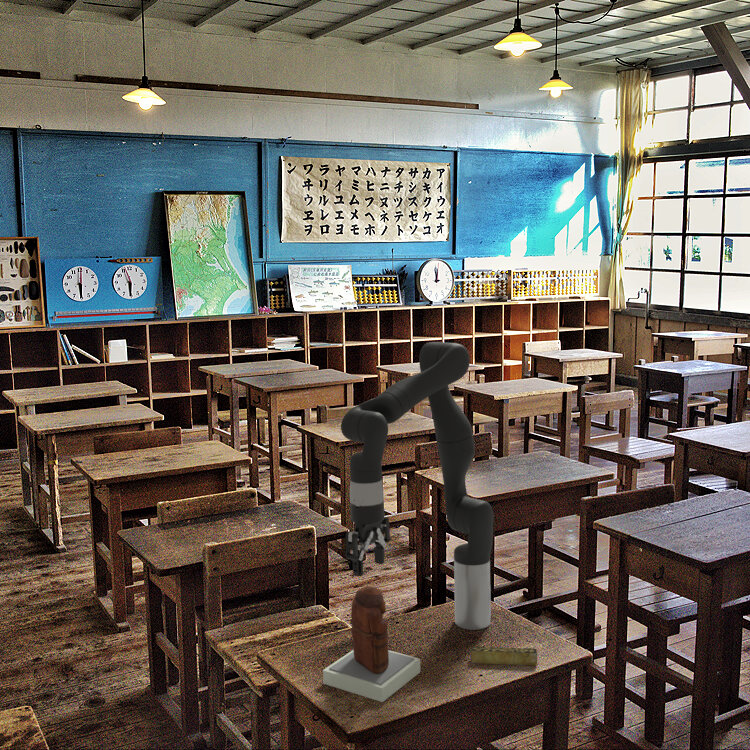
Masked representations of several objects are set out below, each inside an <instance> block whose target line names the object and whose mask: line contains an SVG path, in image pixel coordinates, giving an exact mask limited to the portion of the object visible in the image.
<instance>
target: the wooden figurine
mask: <svg viewBox="0 0 750 750" xmlns="http://www.w3.org/2000/svg"><path fill="white" fill-rule="evenodd" d="M350 610H351V611H350V613H351V614H350V615H351V616H350V617H351V635H352V636H351V639H352V650H354V657H355V660H356V661H357V662H359V663H360V664H362V665H363V666H364V667H365V668H367V669H368V670H369V671H371V672H372V673H376V674H378V673H381V672H383V671H384V670H386V669H387V667H388V664H389V654H388V650H389V634H388V633H389V632H388V620H386V619H385V618H384V616H383V615H385V614H386V611H387V609H386V601H385V599H384V594H383V593H382V591H381V590H380V589H379V588H377V587H375V586H370V585H368V586H365V587H361V588H360V589H358V590H357V591H356V593H355V595H354V598H353V600H352V603H351V609H350Z"/></svg>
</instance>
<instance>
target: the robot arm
mask: <svg viewBox="0 0 750 750" xmlns="http://www.w3.org/2000/svg"><path fill="white" fill-rule="evenodd" d="M470 358H471V357H470V353H469V350H468V349H467V348H466V347H465V346H464V345H462V344H460V343H456V342H442V341H432V342H431V341H430V342H427V343H424V345H423V346H422V347H421V349H420V352H419V358H418V359H419V362H418V363H419V370H420V372H419V373H416V374H413V375H410V376H408V377H406V378H403V379H400V380H398V381H396V382H395V383H393V384H392V385H390V386H389V387H387V388H386V389H385V390H384V391H382V392H381V393H380V394H378V396H376V397H374V398H371V399H369V400H367V401H364V402H361V403H360V404H358V405H356V406H354V407H352V408H350V409H349V410H348V411H347V412H346V413H345V414H344V416H343V418H342V420H341V423H340V431H341V433H342V435H343V437H345V438H346V439H347V440H350V441H352V442H357V443H363V447H362V451H359V452H355V453H353V454H352V455H351V456H350V460H349V471H350V472H349V475H350V476H349V477H350V481H349V483H350V484H349V506H350V508H349V511H350V512H349V513H350V520H351V522H352V523H353V525H354V530H353V531H346V533H345V558H346V559H348V560H351V561H352V573H353V576H356V577H362V576H363V575H364V560H363V558H364V555H365V553H366V552H367V551H368V549H369V546H370V545H372V544H373V546H374V549H373V550H374V562H375V564H379V565H383V564H384V563H385V548H386V546H387V544H388V543H390V541H391V532H390V531H391V530H390V519H389V517H386V516H385V499H384V498H385V496H384V494H385V493H384V492H385V491H384V484H383V468H382V466H383V465H382V463H383V462H382V461H383V458H384V457H383V456H384V452H385V450H386V449H385V448H386V444H387V439H388V435H389V424H394V423H395V422H397V421H398V420H400V418H402V417H403V416H405V414H406V413H408V412H409V411H411V410H412V409H413V408H414V407H415V406H417V405H418V404H420V403H422V401H424V400H425V399H428V402H429V408H430V412H431V417H432V421H433V427H434V428H433V429H434V434H435V440H436V445H437V446H436V447H437V452H438V455H439V460H440V467H441V474H442V479H443V489H444V490H443V491H444V504H445V515H446V520H447V523H448V525H449V527H450V528H451V529H452V530H454V531H456V532H459V533H462V534H466V535H468V542H466V543H462V544H460V545H457V546H456V547H455V548H454V550H453V564H454V565H453V568H454V569H453V576H454V579H453V580H454V581H453V582H454V583H453V585H454V586H453V587H454V624H455V625H456V626H457V627H459V628H461V629H464V630H468V631H474V630H475V631H476V630H483V629H486V628H488V627H489V626H490V625H491V619H492V617H491V615H492V614H491V612H492V611H491V609H492V605H491V602H492V601H491V600H492V599H491V595H492V594H491V591H492V588H491V587H492V586H491V560H490V559H491V552H492V549H493V541H494V540H493V537H494V535H493V534H494V520H495V519H494V511H493V507H492V505H491V504H490V503H489V502H488V501H486V500H482V499H478V498H473V497H469V495H468V491H467V486H466V476H467V474H468V473H467V472H468V470H469V469H470V466H471V464H472V462H473V459H474V457H475V453H476V448H475V447H476V446H475V445H476V444H475V440H474V433H473V427H472V425H471V422H470V420H469V419H468V417H467V416H466V415H465V414H466V413H464V411H463V410H462V408H461V407H460V405H459V404H458V403H457V402H456V400H455V399H454V397H453V395H452V393H451V391H450V387H449V386H450V385H452V384H454V383H456V382H458V381H459V380H461V379H463V377H464V376H465V375H466V374H467V373H468V370H469V368H470V362H471V361H470ZM384 535H385V536H384Z"/></svg>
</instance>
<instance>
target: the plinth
mask: <svg viewBox="0 0 750 750" xmlns="http://www.w3.org/2000/svg"><path fill="white" fill-rule="evenodd" d="M388 654H389V664H388V667H387V669H386V670H384V671H383V672H381V673H378V674H376V673H372V672H371V671H369V670H368V669H367V668H365V667H364V666H363V665H362V664H360V663H359V662H357V661H356V660H355V657H354V650H353V649H352V650H351V651H349V652H348V653H346V654H345V655H343V656H342V657H340V658H339V659H337V660H336V661H335V662H333V663H331V664H330V665H329V666H327V667H326V668H324V669H323V670H322V680H323V681H322V682H323V683H322V684H323V685H326V686H330V687H333V688H336V689H339V690H343V691H345V692H348V693H352V694H356V695H359V696H362V697H365V698H368V699H370V700H374V701H378V702H381V703H383V702H385V701H386V700H387V699H389V698H390V697H391V696H392V695H394V694H395V693H396V692H397V691H399V690H400V689H401V688H402V687H403V686H405V685H406V684H407V683H408V682H410V681H411V680H412V679H414V678H415V677H416V676H418V674H420V673H421V659H420V658H418V657H415V656H411V655H408V654H404V653H401V652H396V651H393V650H389V649H388Z"/></svg>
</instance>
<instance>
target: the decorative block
mask: <svg viewBox="0 0 750 750" xmlns="http://www.w3.org/2000/svg"><path fill="white" fill-rule="evenodd" d="M470 660H471V664H491V665H492V664H494V665H515V666H517V665H518V666H538V651H537V648H521V647H499V646H498V647H495V646H471V647H470Z"/></svg>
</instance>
